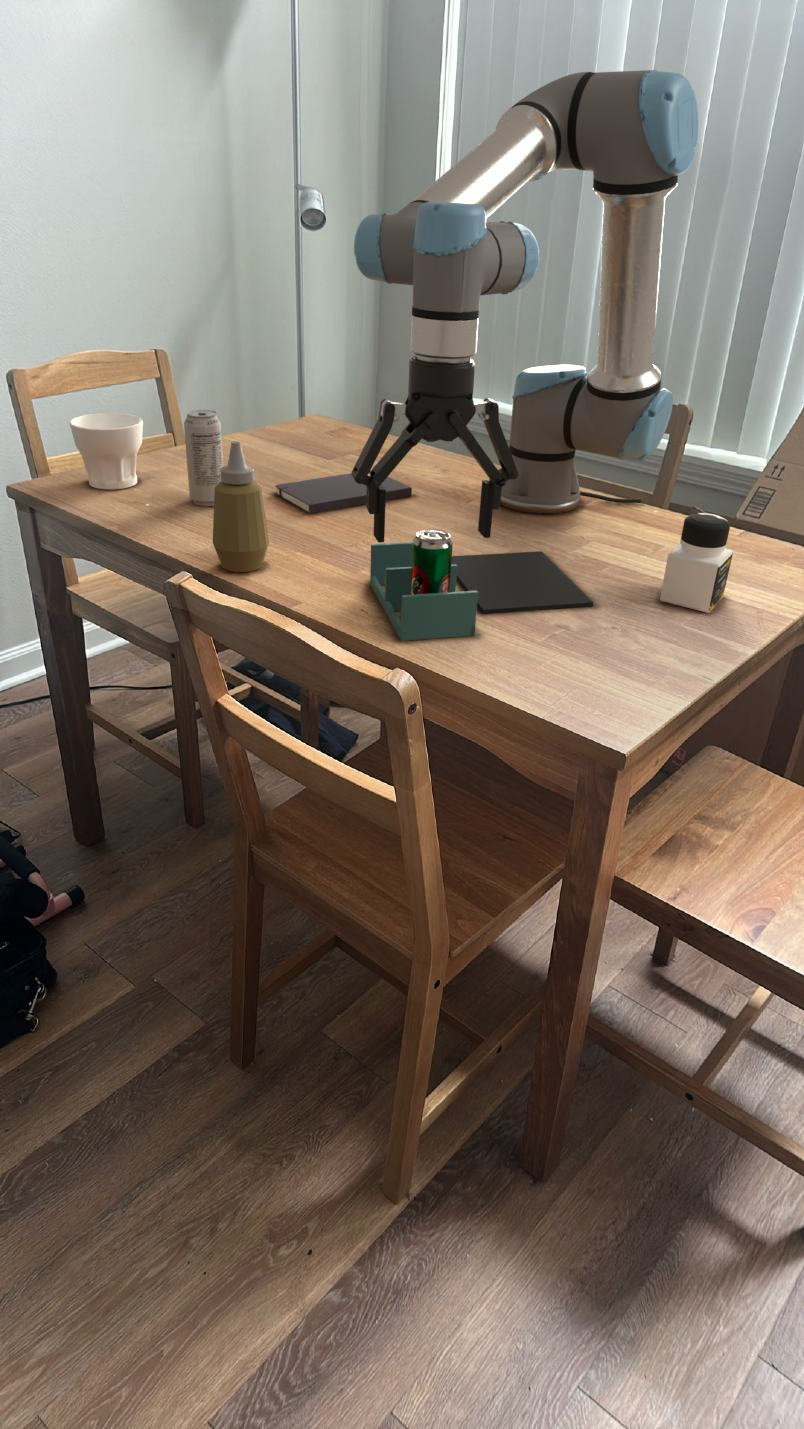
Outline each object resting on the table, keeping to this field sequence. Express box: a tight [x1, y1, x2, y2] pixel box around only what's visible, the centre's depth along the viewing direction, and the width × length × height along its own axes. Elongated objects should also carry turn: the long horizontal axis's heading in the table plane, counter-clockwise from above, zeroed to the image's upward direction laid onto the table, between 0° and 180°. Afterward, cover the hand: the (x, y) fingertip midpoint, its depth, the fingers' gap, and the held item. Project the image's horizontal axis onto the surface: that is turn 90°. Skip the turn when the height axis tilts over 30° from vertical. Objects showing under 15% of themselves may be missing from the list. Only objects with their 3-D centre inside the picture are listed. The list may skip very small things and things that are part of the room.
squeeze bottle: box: [212, 440, 270, 573], centre depth 134 cm, size 8×8×18 cm
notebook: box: [274, 469, 413, 514], centre depth 170 cm, size 13×2×21 cm
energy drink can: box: [183, 409, 224, 507], centre depth 160 cm, size 6×6×15 cm
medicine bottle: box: [659, 512, 734, 614], centre depth 131 cm, size 7×7×12 cm
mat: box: [451, 550, 594, 614], centre depth 137 cm, size 16×20×1 cm
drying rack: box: [369, 541, 478, 642], centre depth 126 cm, size 10×19×6 cm, turn 14°
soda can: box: [410, 528, 454, 595], centre depth 121 cm, size 5×5×12 cm
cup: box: [68, 412, 144, 491], centre depth 169 cm, size 12×12×11 cm
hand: (432, 536), depth 118 cm, fingers open, 13 cm apart
